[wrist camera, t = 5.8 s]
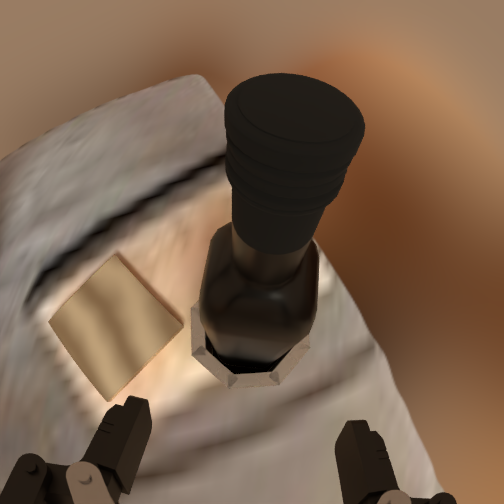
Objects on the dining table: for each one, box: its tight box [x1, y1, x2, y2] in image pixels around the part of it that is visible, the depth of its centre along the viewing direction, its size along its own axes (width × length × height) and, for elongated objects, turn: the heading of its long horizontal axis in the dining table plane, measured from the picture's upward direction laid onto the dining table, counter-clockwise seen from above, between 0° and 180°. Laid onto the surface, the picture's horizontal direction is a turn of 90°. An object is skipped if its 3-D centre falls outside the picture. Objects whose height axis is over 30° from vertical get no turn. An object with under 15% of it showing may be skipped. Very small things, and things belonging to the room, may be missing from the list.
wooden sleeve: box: [191, 300, 310, 389], centre depth 29 cm, size 10×10×8 cm
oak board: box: [48, 254, 184, 402], centre depth 32 cm, size 13×13×1 cm
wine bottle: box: [199, 73, 365, 369], centre depth 19 cm, size 6×6×30 cm
